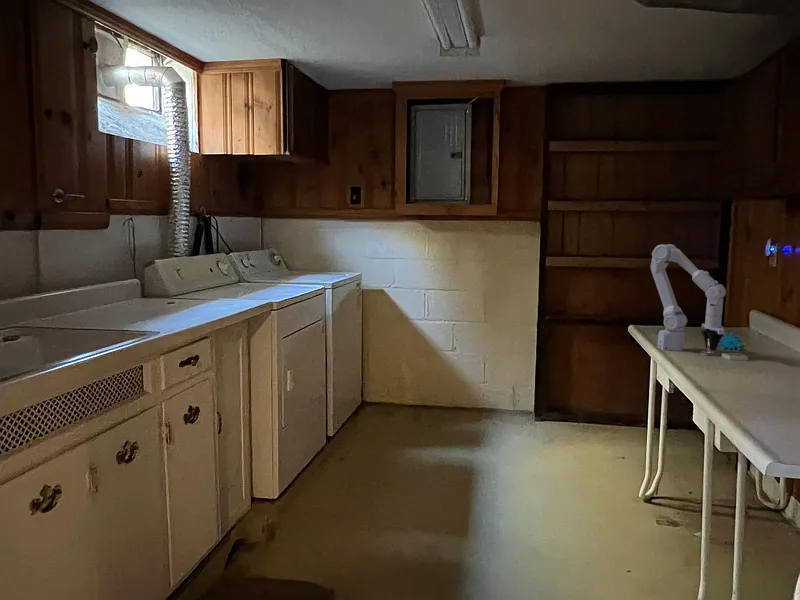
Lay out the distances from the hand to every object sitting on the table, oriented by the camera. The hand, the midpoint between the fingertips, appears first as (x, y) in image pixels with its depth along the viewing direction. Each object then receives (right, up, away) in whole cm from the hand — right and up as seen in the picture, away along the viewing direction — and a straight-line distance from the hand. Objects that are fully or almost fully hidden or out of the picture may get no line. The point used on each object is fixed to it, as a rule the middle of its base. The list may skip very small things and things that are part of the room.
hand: (710, 349), depth 266 cm
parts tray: (+6, -4, -6) cm, 10 cm away
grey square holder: (0, -3, 0) cm, 3 cm away
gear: (+14, -2, +14) cm, 20 cm away
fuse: (0, -2, 0) cm, 2 cm away
